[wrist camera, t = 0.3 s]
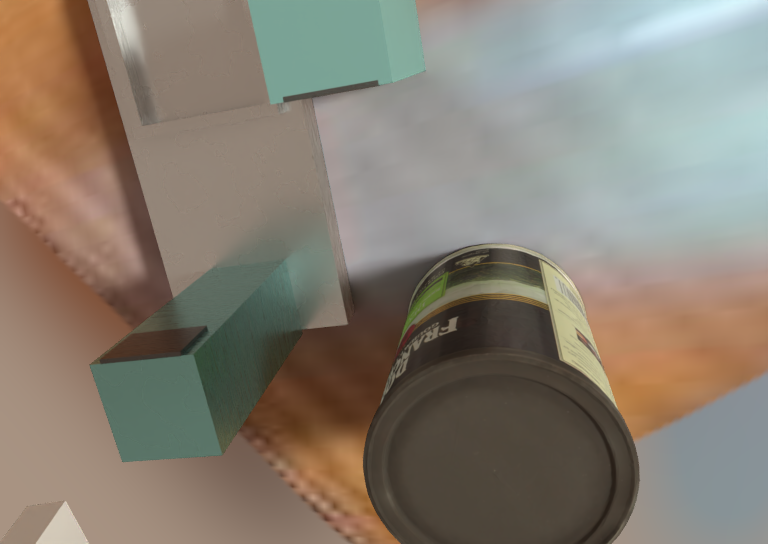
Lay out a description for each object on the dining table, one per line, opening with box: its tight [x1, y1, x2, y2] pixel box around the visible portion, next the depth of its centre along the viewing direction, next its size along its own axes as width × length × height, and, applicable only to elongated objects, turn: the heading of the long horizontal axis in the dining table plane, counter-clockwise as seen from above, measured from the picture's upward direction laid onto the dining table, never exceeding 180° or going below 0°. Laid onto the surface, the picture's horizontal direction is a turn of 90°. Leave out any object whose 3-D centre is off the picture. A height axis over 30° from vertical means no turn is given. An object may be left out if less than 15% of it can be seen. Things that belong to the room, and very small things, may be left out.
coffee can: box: [363, 244, 640, 544], centre depth 31 cm, size 10×10×14 cm
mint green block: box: [248, 0, 426, 104], centre depth 28 cm, size 4×4×12 cm
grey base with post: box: [87, 0, 355, 462], centre depth 30 cm, size 20×10×14 cm, turn 10°
